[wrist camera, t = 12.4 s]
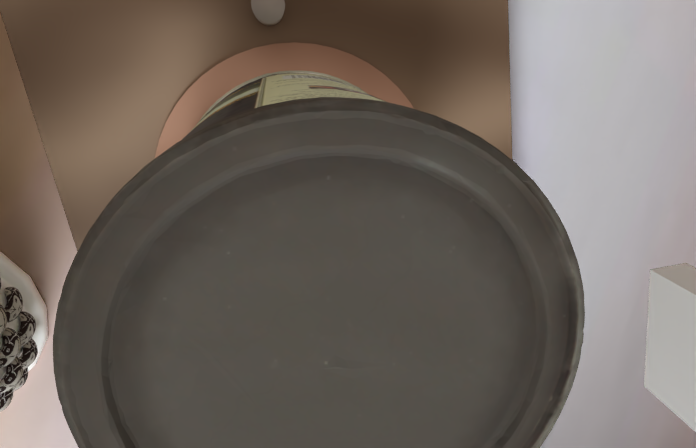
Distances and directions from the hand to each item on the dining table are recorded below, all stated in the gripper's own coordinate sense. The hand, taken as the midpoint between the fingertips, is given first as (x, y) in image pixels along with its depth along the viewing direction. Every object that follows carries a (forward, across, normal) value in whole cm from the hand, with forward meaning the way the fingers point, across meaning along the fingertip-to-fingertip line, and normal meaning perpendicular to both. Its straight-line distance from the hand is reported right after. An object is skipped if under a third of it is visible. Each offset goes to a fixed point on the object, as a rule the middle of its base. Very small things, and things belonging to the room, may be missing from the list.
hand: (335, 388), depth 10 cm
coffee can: (+14, 0, -1) cm, 14 cm away
